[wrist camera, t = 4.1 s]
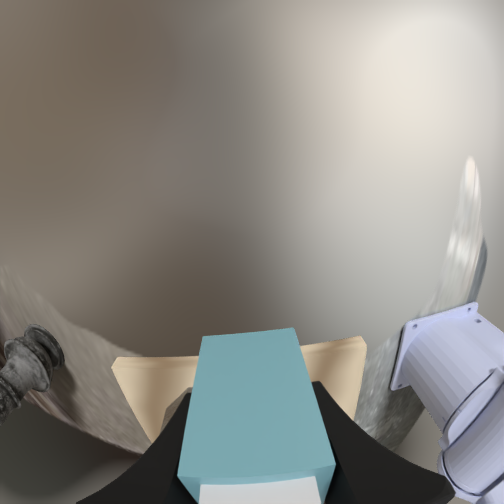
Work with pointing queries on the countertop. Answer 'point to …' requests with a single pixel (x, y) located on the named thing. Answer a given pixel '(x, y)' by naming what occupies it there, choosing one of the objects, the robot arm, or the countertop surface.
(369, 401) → the countertop surface
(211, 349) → the connector
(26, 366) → the salt shaker
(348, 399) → the holder dock
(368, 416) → the countertop surface
